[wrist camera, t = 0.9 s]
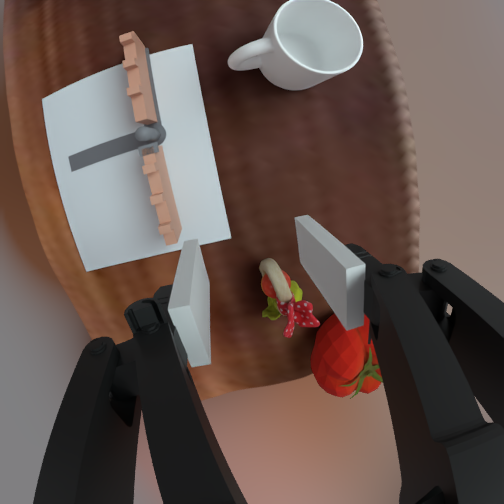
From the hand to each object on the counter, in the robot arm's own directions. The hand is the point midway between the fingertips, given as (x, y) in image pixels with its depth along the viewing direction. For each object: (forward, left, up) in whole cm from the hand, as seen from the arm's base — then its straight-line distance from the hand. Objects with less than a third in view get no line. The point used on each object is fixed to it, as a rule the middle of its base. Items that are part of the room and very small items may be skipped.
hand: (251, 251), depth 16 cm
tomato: (+25, +13, -19) cm, 34 cm away
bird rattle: (+13, +3, -19) cm, 23 cm away
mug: (-14, +8, -19) cm, 25 cm away
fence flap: (-2, -7, -18) cm, 20 cm away
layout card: (-6, -11, -19) cm, 23 cm away
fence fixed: (-14, -7, -19) cm, 24 cm away
